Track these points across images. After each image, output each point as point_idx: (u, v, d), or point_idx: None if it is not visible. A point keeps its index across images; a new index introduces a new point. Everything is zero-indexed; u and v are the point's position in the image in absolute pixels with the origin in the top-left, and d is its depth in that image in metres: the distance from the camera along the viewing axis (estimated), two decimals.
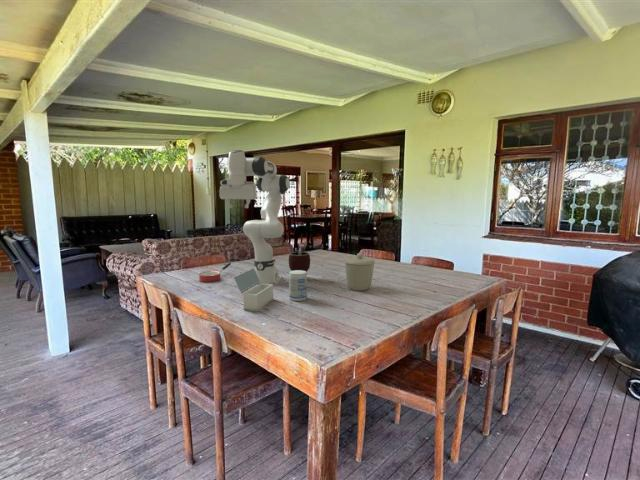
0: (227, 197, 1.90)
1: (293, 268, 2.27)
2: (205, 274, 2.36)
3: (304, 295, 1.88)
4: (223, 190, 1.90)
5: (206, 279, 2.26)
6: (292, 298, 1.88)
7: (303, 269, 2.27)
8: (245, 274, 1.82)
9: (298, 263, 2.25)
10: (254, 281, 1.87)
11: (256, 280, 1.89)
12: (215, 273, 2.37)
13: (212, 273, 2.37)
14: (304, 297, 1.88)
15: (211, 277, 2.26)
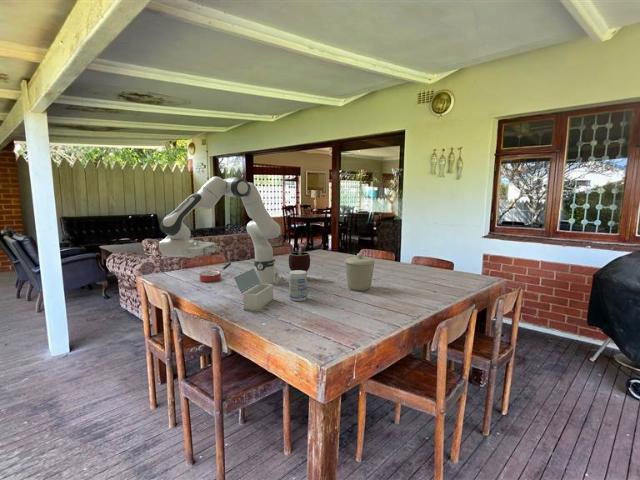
0: None
1: (293, 268, 2.27)
2: (205, 274, 2.36)
3: (304, 295, 1.88)
4: None
5: (206, 279, 2.26)
6: (292, 298, 1.88)
7: (303, 269, 2.27)
8: (245, 274, 1.82)
9: (298, 263, 2.25)
10: (254, 281, 1.87)
11: (256, 280, 1.89)
12: (215, 273, 2.37)
13: (212, 273, 2.38)
14: (304, 297, 1.88)
15: (211, 277, 2.26)
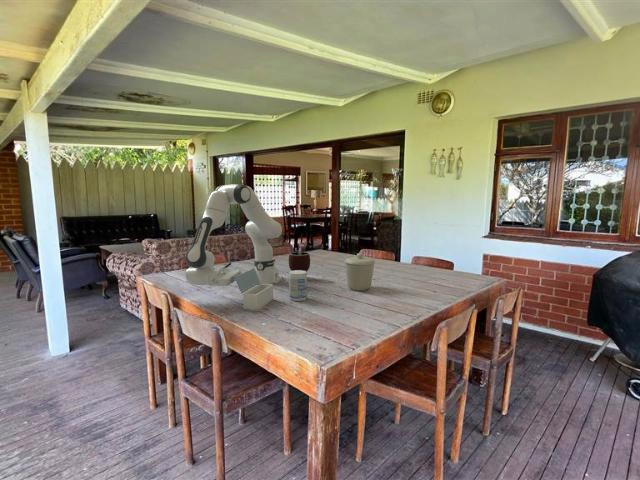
0: None
1: (293, 268, 2.27)
2: None
3: (304, 295, 1.88)
4: None
5: None
6: (292, 298, 1.88)
7: (303, 269, 2.27)
8: (245, 274, 1.82)
9: (298, 263, 2.25)
10: (254, 281, 1.87)
11: (256, 280, 1.89)
12: None
13: None
14: (304, 297, 1.88)
15: None
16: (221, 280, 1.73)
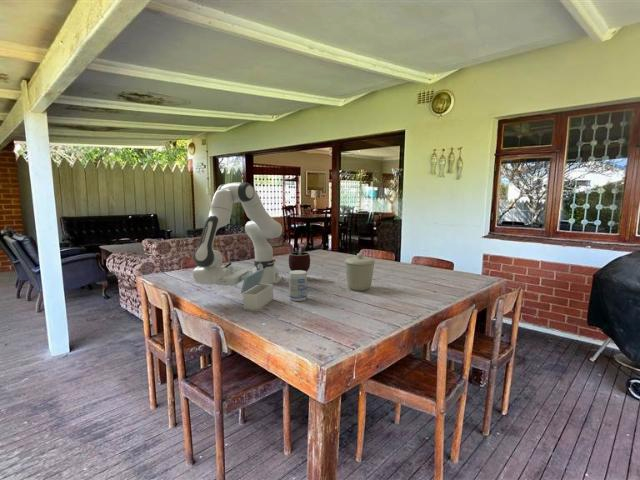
0: None
1: (293, 268, 2.27)
2: None
3: (304, 295, 1.88)
4: None
5: None
6: (292, 298, 1.88)
7: (303, 269, 2.27)
8: (255, 275, 1.80)
9: (298, 263, 2.25)
10: (256, 282, 1.86)
11: (258, 281, 1.89)
12: None
13: None
14: (304, 297, 1.88)
15: None
16: (228, 279, 1.72)
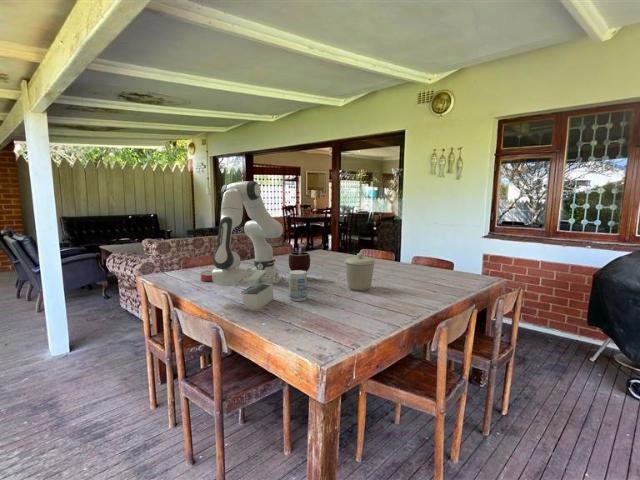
0: None
1: (293, 268, 2.27)
2: (206, 273, 2.37)
3: (304, 295, 1.88)
4: None
5: (207, 278, 2.27)
6: (292, 298, 1.88)
7: (303, 269, 2.27)
8: (262, 283, 1.80)
9: (298, 263, 2.25)
10: None
11: None
12: None
13: None
14: (304, 297, 1.88)
15: None
16: (249, 281, 1.71)
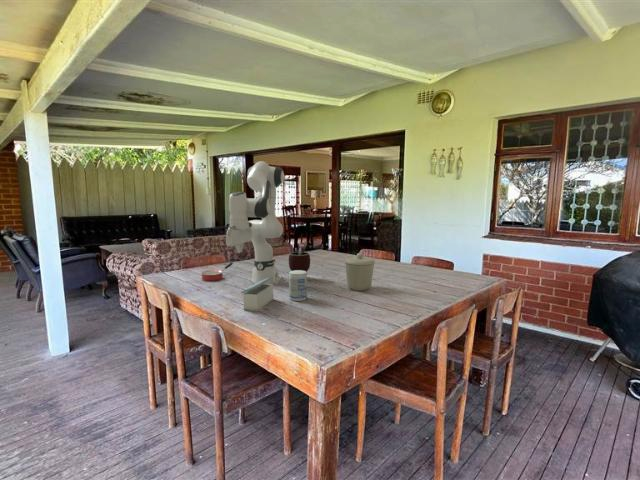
0: None
1: (293, 268, 2.27)
2: (207, 273, 2.38)
3: (304, 295, 1.88)
4: None
5: (208, 278, 2.28)
6: (292, 298, 1.88)
7: (303, 269, 2.27)
8: (262, 283, 1.80)
9: (298, 263, 2.25)
10: None
11: None
12: (217, 272, 2.39)
13: (214, 272, 2.40)
14: (304, 297, 1.88)
15: (213, 276, 2.28)
16: (230, 239, 1.69)
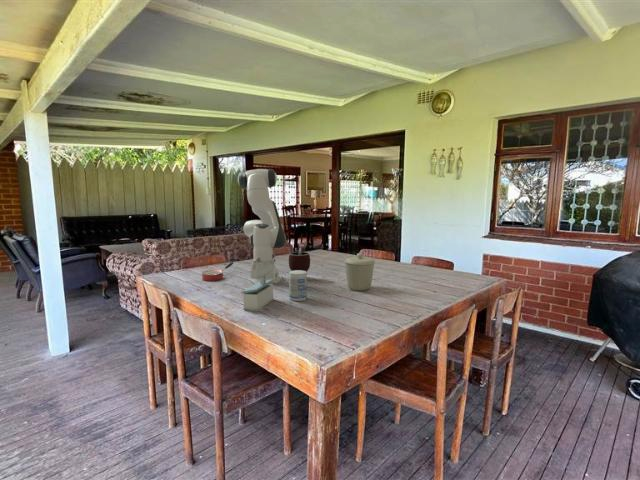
0: None
1: (293, 268, 2.27)
2: (208, 273, 2.38)
3: (304, 295, 1.88)
4: None
5: (209, 278, 2.28)
6: (292, 298, 1.88)
7: (303, 269, 2.27)
8: (263, 286, 1.80)
9: (298, 263, 2.25)
10: None
11: None
12: (218, 272, 2.40)
13: (215, 272, 2.40)
14: (304, 297, 1.88)
15: (214, 276, 2.29)
16: (255, 272, 1.69)
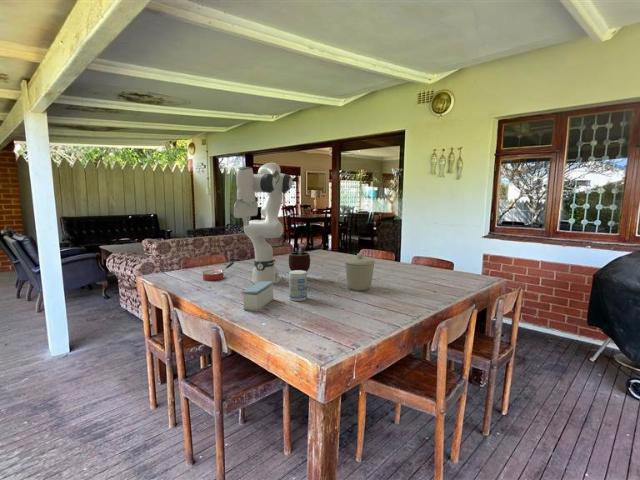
0: None
1: (293, 268, 2.27)
2: (208, 273, 2.39)
3: (304, 295, 1.88)
4: None
5: (209, 278, 2.29)
6: (292, 298, 1.88)
7: (303, 269, 2.27)
8: None
9: (298, 263, 2.25)
10: None
11: None
12: (218, 272, 2.41)
13: (215, 272, 2.41)
14: (304, 297, 1.88)
15: (214, 276, 2.30)
16: (238, 211, 1.77)
